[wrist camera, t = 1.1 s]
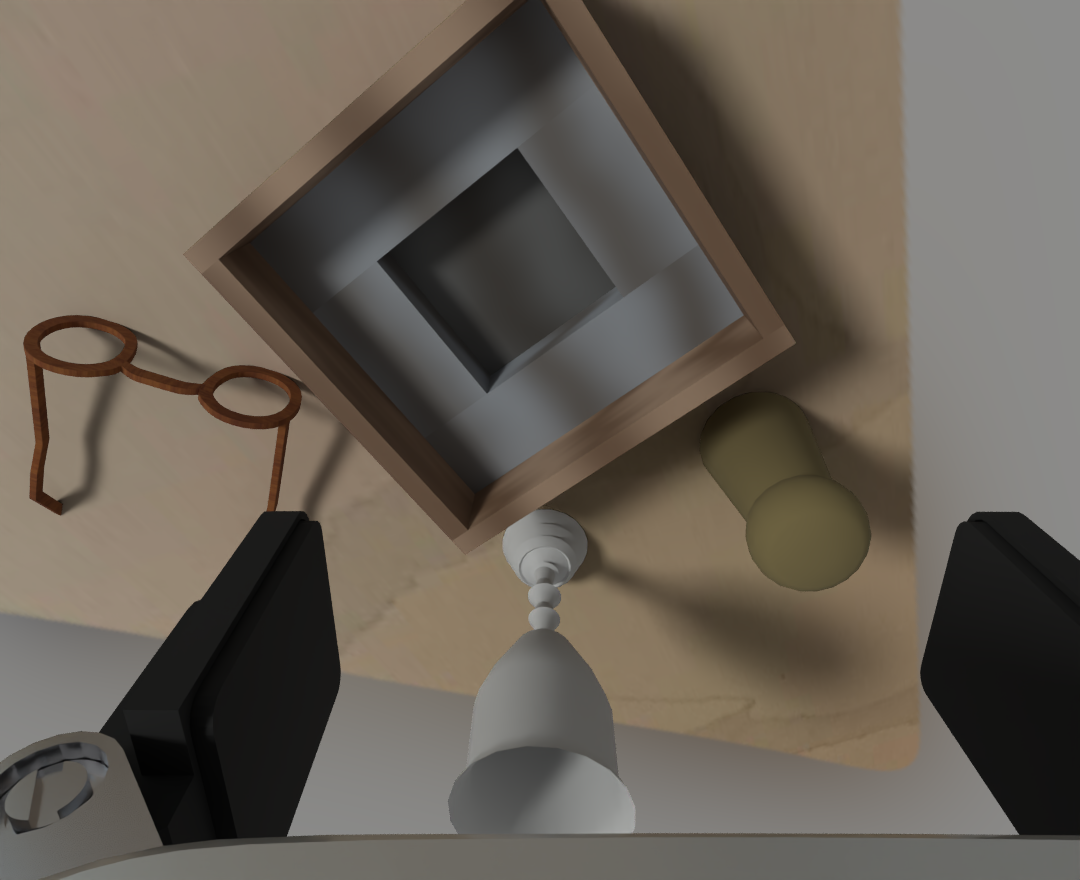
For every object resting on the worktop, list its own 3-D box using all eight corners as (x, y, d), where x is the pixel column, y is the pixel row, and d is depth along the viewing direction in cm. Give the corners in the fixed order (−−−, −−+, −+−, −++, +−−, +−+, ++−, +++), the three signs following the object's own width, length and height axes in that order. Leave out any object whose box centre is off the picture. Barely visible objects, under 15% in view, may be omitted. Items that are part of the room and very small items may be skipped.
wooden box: (542, -36, 31) (540, -66, 25) (754, 299, 38) (796, 343, 31) (246, 225, 36) (182, 254, 30) (477, 484, 42) (465, 554, 36)
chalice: (460, 541, 44) (409, 808, 28) (543, 471, 42) (539, 715, 26) (546, 613, 46) (544, 899, 30) (628, 550, 44) (675, 820, 28)
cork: (824, 463, 42) (911, 581, 32) (723, 505, 43) (776, 632, 33) (788, 373, 39) (868, 469, 29) (682, 420, 41) (725, 529, 31)
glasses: (315, 380, 40) (285, 417, 36) (274, 569, 46) (244, 622, 41) (66, 304, 39) (2, 333, 34) (54, 509, 44) (-3, 557, 39)
